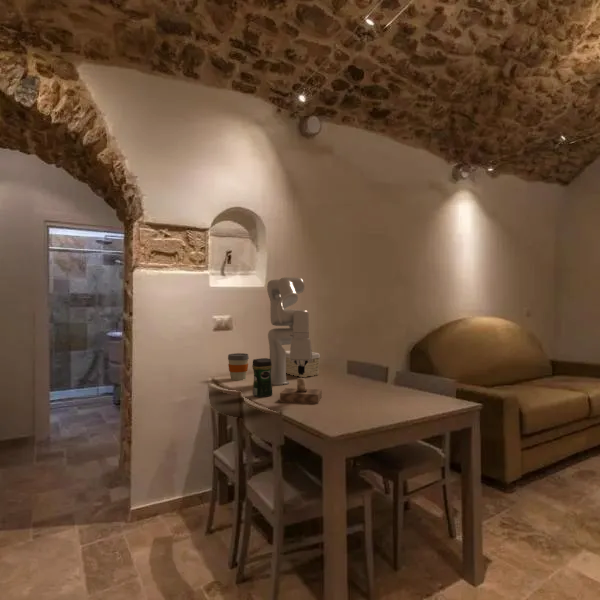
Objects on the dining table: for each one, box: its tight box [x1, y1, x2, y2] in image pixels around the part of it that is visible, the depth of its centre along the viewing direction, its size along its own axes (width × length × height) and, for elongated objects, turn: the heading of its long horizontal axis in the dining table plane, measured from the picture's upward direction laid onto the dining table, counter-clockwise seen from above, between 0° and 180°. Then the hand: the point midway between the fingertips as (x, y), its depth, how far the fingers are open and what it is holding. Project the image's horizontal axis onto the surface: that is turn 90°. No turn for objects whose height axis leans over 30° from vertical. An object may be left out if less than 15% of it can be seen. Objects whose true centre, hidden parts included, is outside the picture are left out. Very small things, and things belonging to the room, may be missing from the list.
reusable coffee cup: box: [227, 352, 250, 381], centre depth 262 cm, size 13×13×15 cm
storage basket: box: [285, 350, 321, 378], centre depth 278 cm, size 24×16×15 cm
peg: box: [296, 377, 306, 393], centre depth 206 cm, size 4×4×10 cm
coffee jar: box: [251, 357, 273, 398], centre depth 216 cm, size 10×8×19 cm
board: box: [279, 387, 323, 404], centre depth 206 cm, size 18×12×4 cm, turn 79°
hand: (301, 374), depth 206 cm, fingers closed
